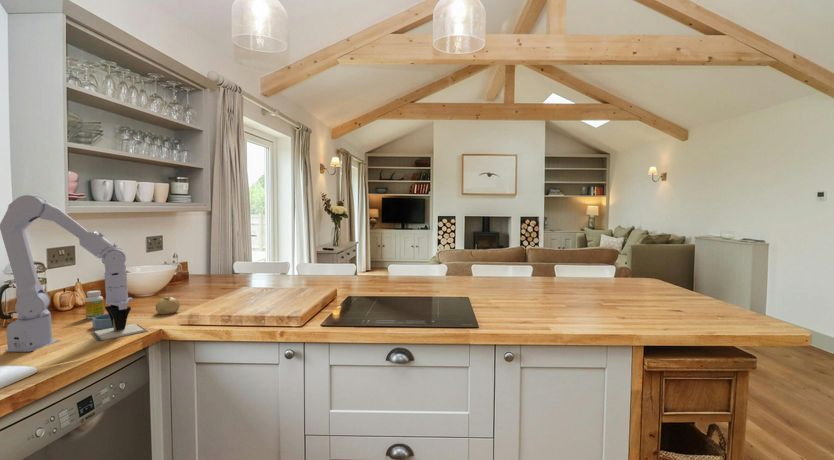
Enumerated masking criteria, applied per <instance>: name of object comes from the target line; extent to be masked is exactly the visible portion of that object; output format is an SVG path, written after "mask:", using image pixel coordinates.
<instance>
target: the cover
mask: <svg viewBox="0 0 834 460" xmlns="http://www.w3.org/2000/svg"><path fill="white" fill-rule="evenodd" d="M113 326H114V328H109V329H98V330H95V331H94V332H93V333H95V334H96V335H97V336H98V337H99V338H100V339H101V340H105V339H110V338H115V337H120V336H125V335H130V334H135V333H140V332H144V330H143V329H142V328H143V327H142V328H140V327H139V326H140V325H139V326H137V324H136V323H131V324H126V326H125V329H123V330H116V327H115V323H114V319H113ZM140 334H141V333H140ZM135 335H136V334H135ZM130 336H131V335H130ZM125 337H126V336H125ZM120 338H121V337H120ZM115 339H116V338H115ZM110 340H111V339H110ZM105 341H106V340H105Z"/></svg>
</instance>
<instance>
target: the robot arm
mask: <svg viewBox="0 0 834 460" xmlns="http://www.w3.org/2000/svg"><path fill="white" fill-rule="evenodd" d="M37 219H41V220H45V221H46V220H47V221H51V222H54V223H56V224H57V225H59V226H60V227H61V228H63V229H65V230H66V231H67V232H69V233H70V234H72V235H73V236H74V237H77V239H78V240H79V246H81V247H82V248H83V249H85V250H86V251H87V252H89V253H90V254H92V255H93V256H95V258H98V259H101V260H102V263H103V265H104V286H105V288H104V289H105V305H107V306H104V310H106V312H107V314H109V316H110V319H111V322H112V325H113V319H114V323H115V327H116V330H123V329H125V326H126V325H127V320H128V316H129V314H130V312H131V310H132V307H131V306H128V303H129V302H131V301H133V297H129V289H128V276H127V275H128V274H127V270H126V269H127V265H126V260H127V255H126V253H125V251H124V250H123V249H122V248H120V247H118V245H117V244H116V243H114V244H113V243H112V242H111V241H110V240H108V239H107V238H105V234H103V233H102V232H98V231H96V230H91V231H90V230H89V231H88V230H87V229H86V228H85V227H83V226H82V225H81V224H80V223H78V222H77V221H76V220H74V219H73V218H72V217H71V216H70V215H69V214H67V213H66V212H64V210H62V209H60V208H59V207H58V206H56V205H55V204H53V203H50V202H48V201H47V200H46V199H44V198H43V197H41V196H37V195H29V194H24V195H21V196H20V195H19V196H18V197H16V198H15V199H14V200H13V201H12V202H10V203H9V204H8V205H7V209H6V212H5V214H4V215H3V217H2V219H1V221H0V233H1V237H2V240H3V243H4V248H5V251H6V253H7V254H6V255H7V257H8V261H9V265H10V269H11V273H12V275H13V278H14V283H15V286H16V290H15V298H16V303H15V306H14V310H15V312H16V314H17V316H16V320H15V321H12V322H10V323H9V324H8V325H7V327H6V332H5V333H6V345H7V349H5V352H7V353H8V352H9V353H10V352H15V353H16V352H17V353H19V352H20V353H23V352H26V353H27V352H28V353H29V352H33V351H35V350H38V349H41V348H43V347H46V346H49V345H53V344H56V343H58V342H60V341H61V339H53V329H52V328H53V327H52V315H51V311H49V309H48V307H49V306H50V304H51V297H50V295H49V294H48V293H46V292H45V290H44V288H43V284H41V282H40V280H39V277H38V273H37V270H36V266H35V262H34V258H33V256H32V251H31V249H30V244H29V241H28V238H27V234H26V229H27V228H28V227H29V226H30V225H31V224H32V223H33V221H35V220H37ZM113 328H114V326H113Z"/></svg>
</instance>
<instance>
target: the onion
mask: <svg viewBox="0 0 834 460" xmlns="http://www.w3.org/2000/svg"><path fill="white" fill-rule="evenodd" d="M180 306H181V304H180V301H179V300H178V299H177V298H175V297H172V296H163V297H162V298H161V299H159V300H158V301H157V302H156V305H155V311H156V313H158V315H164V316H165V315H171V314H175V313H177V312H178V311H179V310H180Z"/></svg>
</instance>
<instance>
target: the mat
mask: <svg viewBox="0 0 834 460" xmlns="http://www.w3.org/2000/svg"><path fill="white" fill-rule="evenodd" d="M136 325H137V326H139V327H140V328H142V329H143V330H144V332H140V333H135V334H130V335H125V336H120V337H115V338H110V339H105V340H101V339H100V338H99V337H98V336H97V335H96V334H95V333H94V332H90V333H89V334H90V335H91V336H92V337H93V338H94V339H95V341H97V342H99V343H100V342H105V341H110V340H114V339H119V338H124V337H128V336H134V335H138V334H145V333H148V332H149V331H148V330H147V329H145V328H144V327H142V326H141V325H139V324H136Z"/></svg>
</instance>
